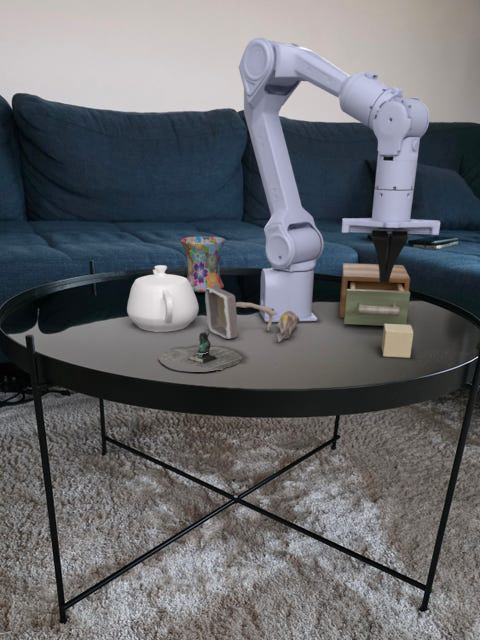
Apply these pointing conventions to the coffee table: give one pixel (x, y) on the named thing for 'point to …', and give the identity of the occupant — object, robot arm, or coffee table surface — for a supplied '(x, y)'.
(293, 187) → the robot arm
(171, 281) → the teapot
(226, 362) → the sculpture
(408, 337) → the block
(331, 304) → the coffee table surface
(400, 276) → the cabinet
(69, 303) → the coffee table surface
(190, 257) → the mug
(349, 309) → the drawer
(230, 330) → the decorative sculpture
